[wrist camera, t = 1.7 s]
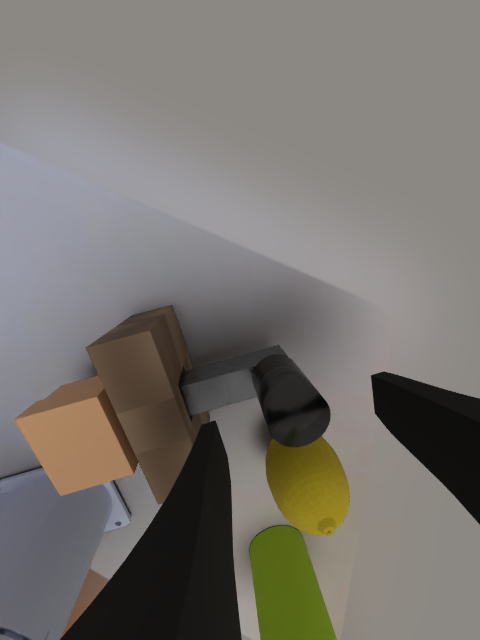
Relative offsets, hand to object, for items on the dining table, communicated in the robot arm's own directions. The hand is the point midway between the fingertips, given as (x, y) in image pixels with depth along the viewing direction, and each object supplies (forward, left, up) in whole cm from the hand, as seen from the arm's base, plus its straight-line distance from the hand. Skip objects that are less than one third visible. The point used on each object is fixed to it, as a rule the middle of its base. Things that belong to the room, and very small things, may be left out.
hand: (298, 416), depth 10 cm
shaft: (-6, 0, -6) cm, 8 cm away
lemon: (+1, -9, -9) cm, 13 cm away
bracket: (-7, 0, -9) cm, 11 cm away
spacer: (-11, 0, -6) cm, 12 cm away
